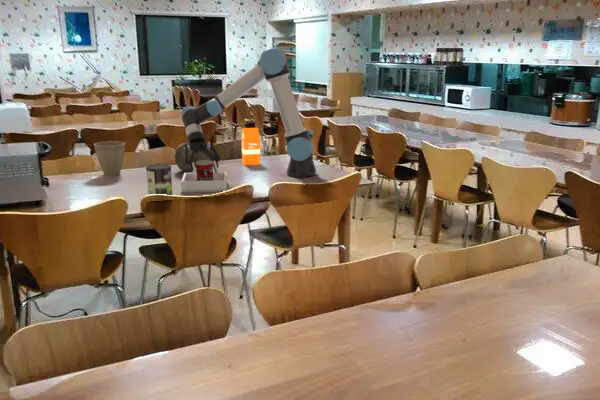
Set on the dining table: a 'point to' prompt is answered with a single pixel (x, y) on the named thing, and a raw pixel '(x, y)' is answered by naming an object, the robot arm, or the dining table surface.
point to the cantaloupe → (181, 154)
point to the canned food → (204, 170)
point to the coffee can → (159, 179)
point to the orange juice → (250, 146)
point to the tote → (204, 183)
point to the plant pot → (110, 156)
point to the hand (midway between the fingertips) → (206, 174)
